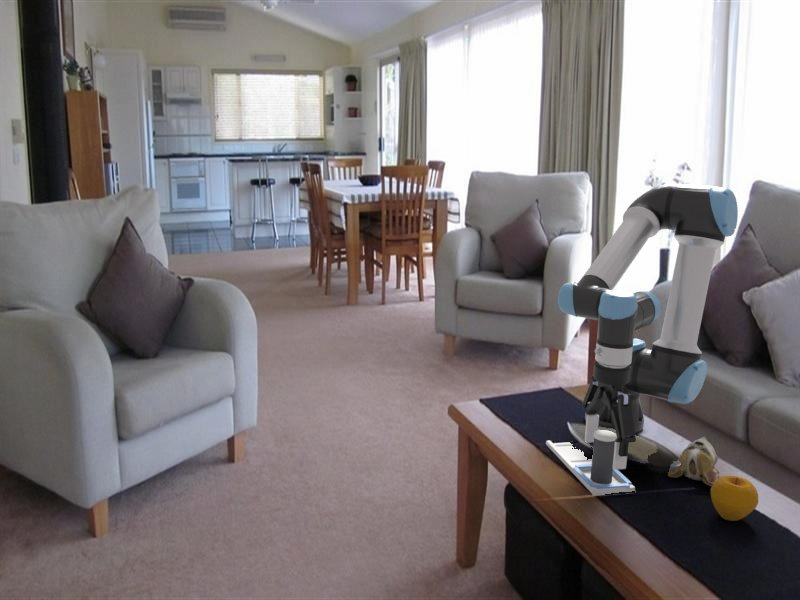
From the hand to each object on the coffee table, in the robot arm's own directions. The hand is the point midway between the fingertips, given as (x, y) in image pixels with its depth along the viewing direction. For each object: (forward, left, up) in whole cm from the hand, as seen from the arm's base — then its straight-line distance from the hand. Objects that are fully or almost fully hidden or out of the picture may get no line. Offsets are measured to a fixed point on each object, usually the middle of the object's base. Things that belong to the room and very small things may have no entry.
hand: (604, 454), depth 163 cm
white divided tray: (0, -7, -6) cm, 9 cm away
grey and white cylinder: (0, 0, -6) cm, 6 cm away
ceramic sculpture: (-22, +1, -7) cm, 23 cm away
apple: (-19, +19, -7) cm, 28 cm away
